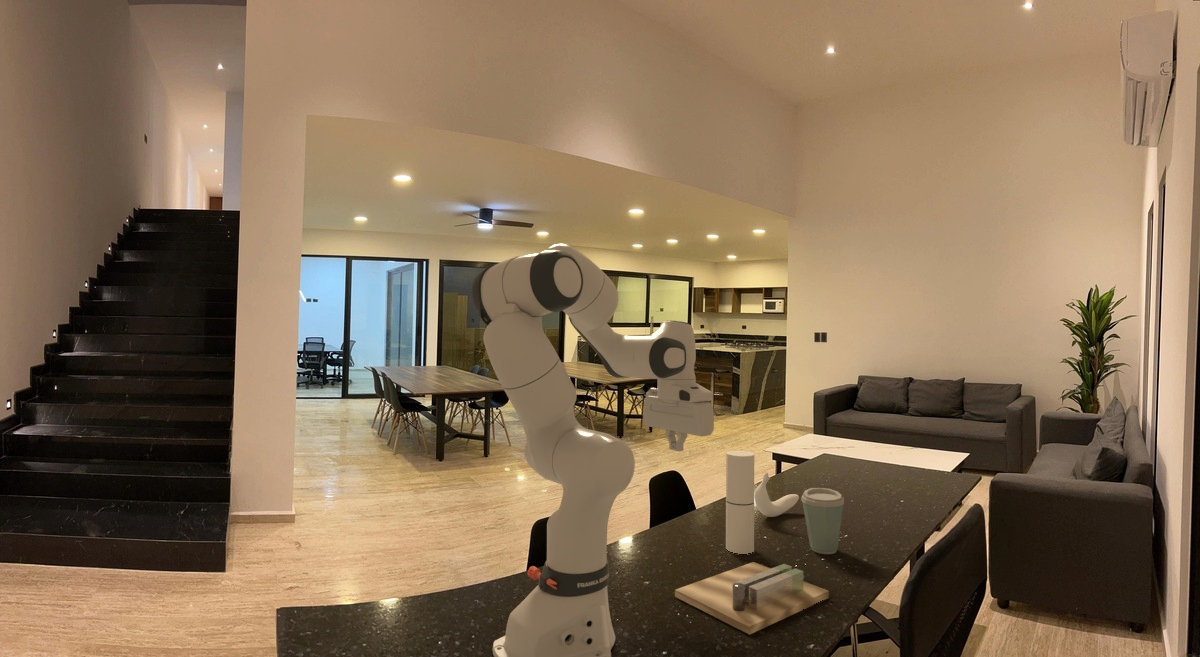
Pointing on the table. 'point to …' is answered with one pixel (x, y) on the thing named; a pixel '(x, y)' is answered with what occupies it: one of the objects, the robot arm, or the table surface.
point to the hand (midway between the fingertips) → (676, 450)
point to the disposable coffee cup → (823, 518)
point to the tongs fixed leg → (775, 588)
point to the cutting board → (718, 603)
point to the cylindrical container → (740, 502)
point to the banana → (772, 507)
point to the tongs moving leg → (743, 585)
